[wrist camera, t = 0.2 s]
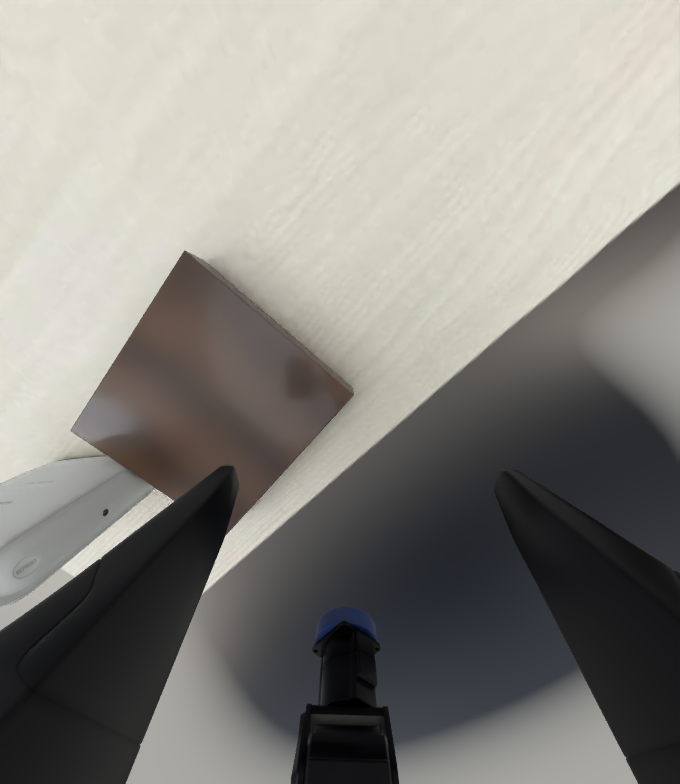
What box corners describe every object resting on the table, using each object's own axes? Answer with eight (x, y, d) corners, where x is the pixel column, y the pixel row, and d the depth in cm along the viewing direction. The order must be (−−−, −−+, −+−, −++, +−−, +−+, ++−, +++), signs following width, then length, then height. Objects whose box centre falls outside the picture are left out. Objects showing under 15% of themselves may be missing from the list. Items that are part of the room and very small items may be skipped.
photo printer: (152, 449, 22) (-74, 586, 10) (164, 489, 23) (-28, 659, 11) (45, 457, 23) (-296, 599, 10) (62, 496, 24) (-232, 668, 12)
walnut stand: (237, 514, 24) (225, 535, 21) (100, 419, 22) (69, 430, 19) (352, 387, 21) (354, 394, 18) (205, 260, 18) (184, 249, 16)
